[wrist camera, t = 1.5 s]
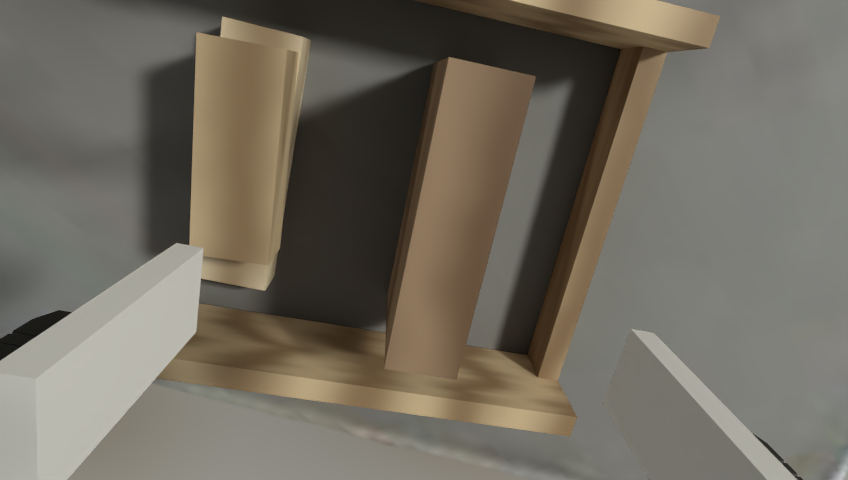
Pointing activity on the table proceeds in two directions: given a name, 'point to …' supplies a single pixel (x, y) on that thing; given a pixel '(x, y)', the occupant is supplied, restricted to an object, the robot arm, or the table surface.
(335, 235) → the table surface
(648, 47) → the rack
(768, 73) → the table surface
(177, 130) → the table surface
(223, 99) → the slab short
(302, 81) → the slab long
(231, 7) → the table surface
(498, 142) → the brown wooden block
